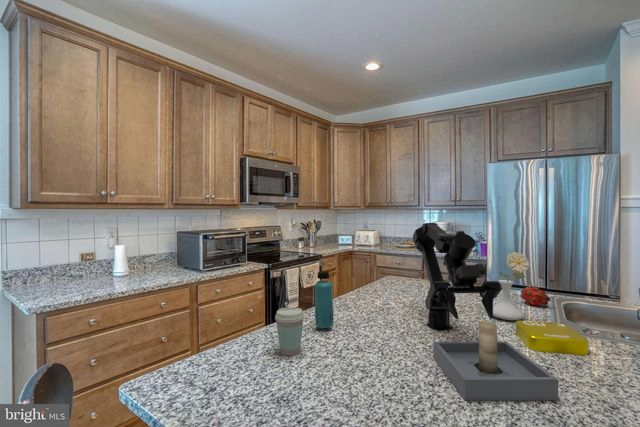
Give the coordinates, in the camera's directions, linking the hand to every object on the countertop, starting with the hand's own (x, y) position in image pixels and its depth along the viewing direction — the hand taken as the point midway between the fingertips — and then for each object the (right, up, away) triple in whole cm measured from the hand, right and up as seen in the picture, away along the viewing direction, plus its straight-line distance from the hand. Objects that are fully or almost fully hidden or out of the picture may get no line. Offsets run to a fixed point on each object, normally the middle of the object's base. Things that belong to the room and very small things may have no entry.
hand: (474, 318), depth 87 cm
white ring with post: (-10, -12, +56) cm, 58 cm away
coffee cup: (-50, -13, +8) cm, 52 cm away
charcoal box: (0, -12, -7) cm, 14 cm away
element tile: (+29, -12, +12) cm, 33 cm away
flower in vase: (+30, -11, +35) cm, 47 cm away
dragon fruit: (+50, -11, +50) cm, 72 cm away
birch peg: (0, -12, -7) cm, 14 cm away
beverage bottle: (-40, -12, +26) cm, 49 cm away
